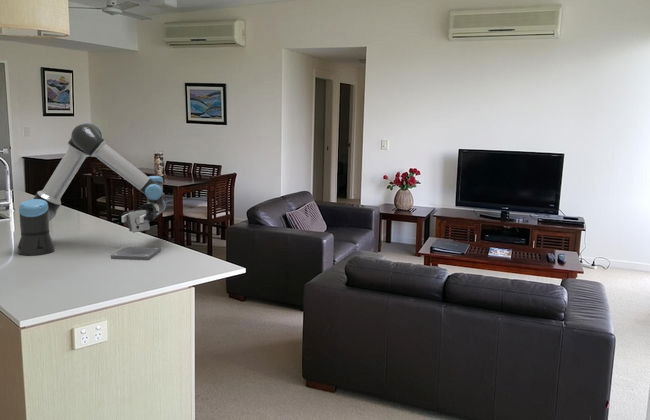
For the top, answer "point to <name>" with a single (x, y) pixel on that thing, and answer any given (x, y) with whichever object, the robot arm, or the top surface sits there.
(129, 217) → the electrical switch
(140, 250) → the mounting plate
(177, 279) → the top surface
